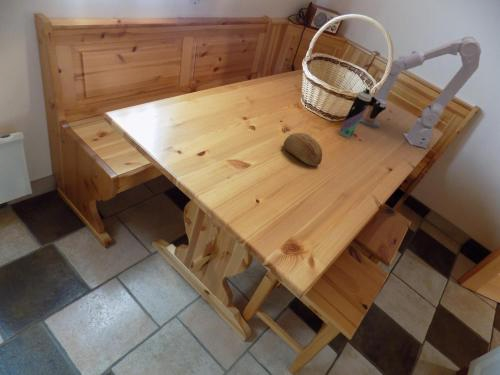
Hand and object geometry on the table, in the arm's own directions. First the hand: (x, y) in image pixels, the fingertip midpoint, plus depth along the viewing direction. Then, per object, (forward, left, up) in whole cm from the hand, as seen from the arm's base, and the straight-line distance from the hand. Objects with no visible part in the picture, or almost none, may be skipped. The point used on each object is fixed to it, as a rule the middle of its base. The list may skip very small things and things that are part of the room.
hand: (369, 114), depth 148 cm
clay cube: (0, 0, -2) cm, 2 cm away
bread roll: (-44, +38, -3) cm, 58 cm away
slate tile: (0, 0, -3) cm, 3 cm away
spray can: (-19, +15, -3) cm, 24 cm away
